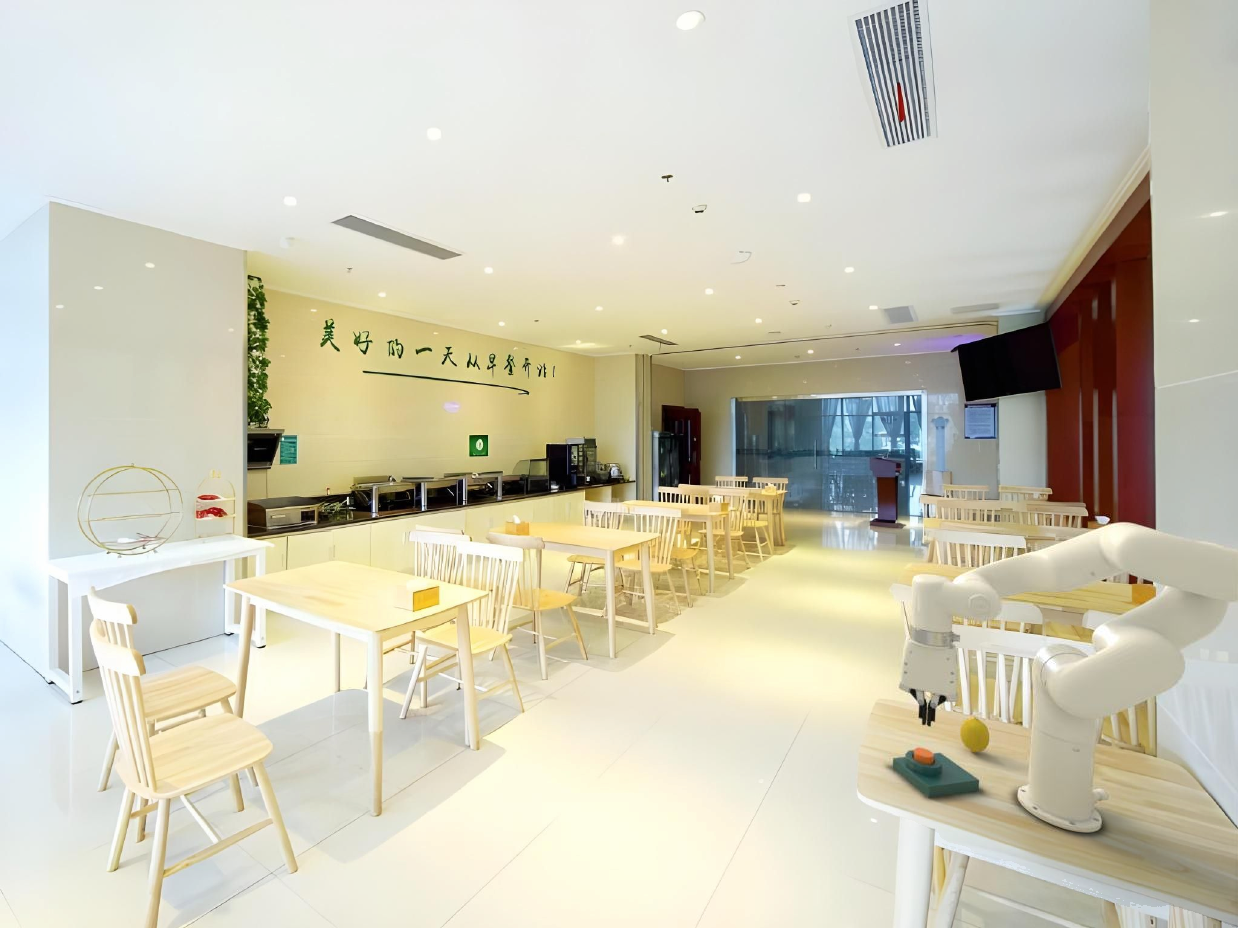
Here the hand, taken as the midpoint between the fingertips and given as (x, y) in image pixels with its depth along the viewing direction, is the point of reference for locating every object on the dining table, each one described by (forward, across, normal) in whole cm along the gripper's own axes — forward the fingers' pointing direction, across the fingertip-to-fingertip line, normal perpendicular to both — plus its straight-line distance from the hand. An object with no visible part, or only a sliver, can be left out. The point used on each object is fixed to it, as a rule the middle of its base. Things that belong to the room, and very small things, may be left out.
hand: (926, 722), depth 115 cm
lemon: (+12, -9, -18) cm, 23 cm away
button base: (+12, -2, -1) cm, 12 cm away
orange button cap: (+8, 0, 0) cm, 8 cm away
